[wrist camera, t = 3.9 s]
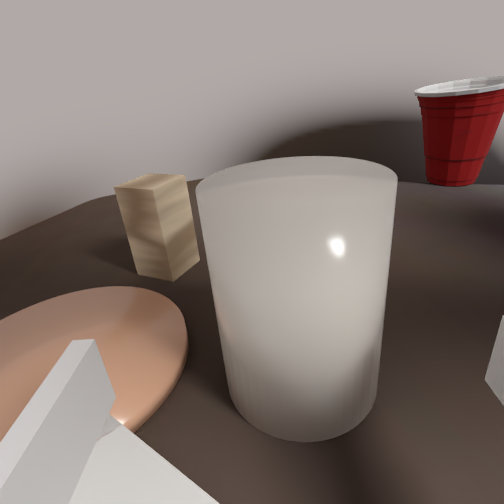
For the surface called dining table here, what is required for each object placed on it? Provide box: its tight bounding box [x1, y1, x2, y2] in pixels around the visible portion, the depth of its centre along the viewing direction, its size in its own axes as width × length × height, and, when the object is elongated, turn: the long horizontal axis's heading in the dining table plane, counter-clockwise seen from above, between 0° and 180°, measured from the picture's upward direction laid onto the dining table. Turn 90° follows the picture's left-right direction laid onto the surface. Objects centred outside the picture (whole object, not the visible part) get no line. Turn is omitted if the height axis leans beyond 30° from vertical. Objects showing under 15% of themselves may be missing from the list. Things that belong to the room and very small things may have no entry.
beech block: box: [114, 174, 200, 282], centre depth 30 cm, size 4×4×8 cm
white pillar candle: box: [196, 156, 398, 442], centre depth 17 cm, size 8×8×11 cm
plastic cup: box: [414, 76, 504, 186], centre depth 44 cm, size 11×11×12 cm
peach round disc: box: [0, 286, 189, 442], centre depth 21 cm, size 15×15×1 cm
